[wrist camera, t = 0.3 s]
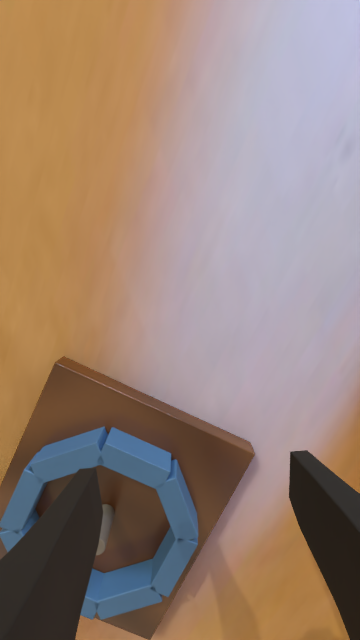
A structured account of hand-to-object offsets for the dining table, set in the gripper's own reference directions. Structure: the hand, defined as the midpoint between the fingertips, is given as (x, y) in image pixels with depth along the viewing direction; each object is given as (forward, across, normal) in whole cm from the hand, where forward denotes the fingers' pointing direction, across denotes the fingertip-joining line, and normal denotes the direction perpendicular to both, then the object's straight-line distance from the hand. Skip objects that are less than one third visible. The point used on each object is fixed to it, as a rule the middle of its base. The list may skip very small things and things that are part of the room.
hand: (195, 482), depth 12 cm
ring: (+8, +6, +9) cm, 13 cm away
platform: (+9, +6, +9) cm, 14 cm away
